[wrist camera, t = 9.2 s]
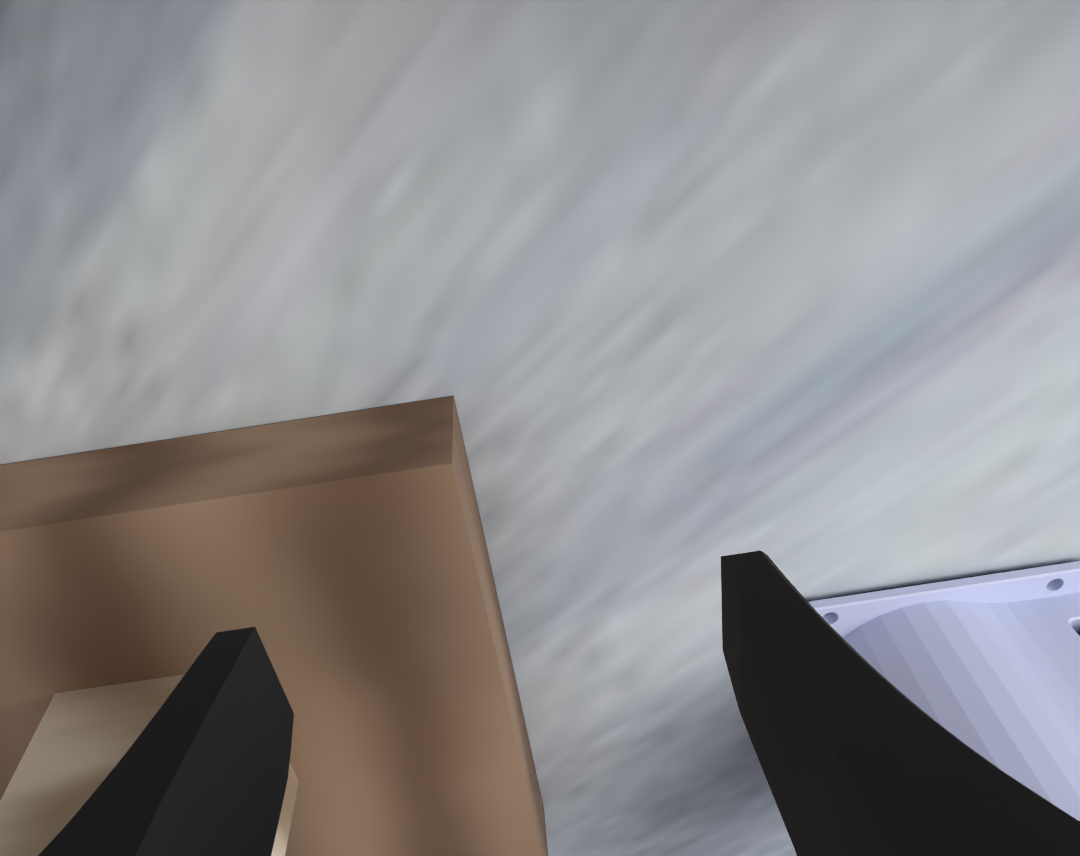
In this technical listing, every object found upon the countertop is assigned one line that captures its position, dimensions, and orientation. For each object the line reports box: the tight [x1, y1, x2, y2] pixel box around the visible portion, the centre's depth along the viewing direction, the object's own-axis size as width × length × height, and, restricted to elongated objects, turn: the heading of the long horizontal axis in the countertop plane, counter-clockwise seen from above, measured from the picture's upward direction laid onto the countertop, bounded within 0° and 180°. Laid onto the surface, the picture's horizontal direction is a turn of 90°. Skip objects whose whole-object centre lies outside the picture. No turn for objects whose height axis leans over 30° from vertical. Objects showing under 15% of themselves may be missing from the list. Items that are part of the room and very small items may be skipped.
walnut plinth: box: [0, 396, 548, 856], centre depth 25 cm, size 18×18×3 cm
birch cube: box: [0, 674, 299, 856], centre depth 21 cm, size 5×5×5 cm
